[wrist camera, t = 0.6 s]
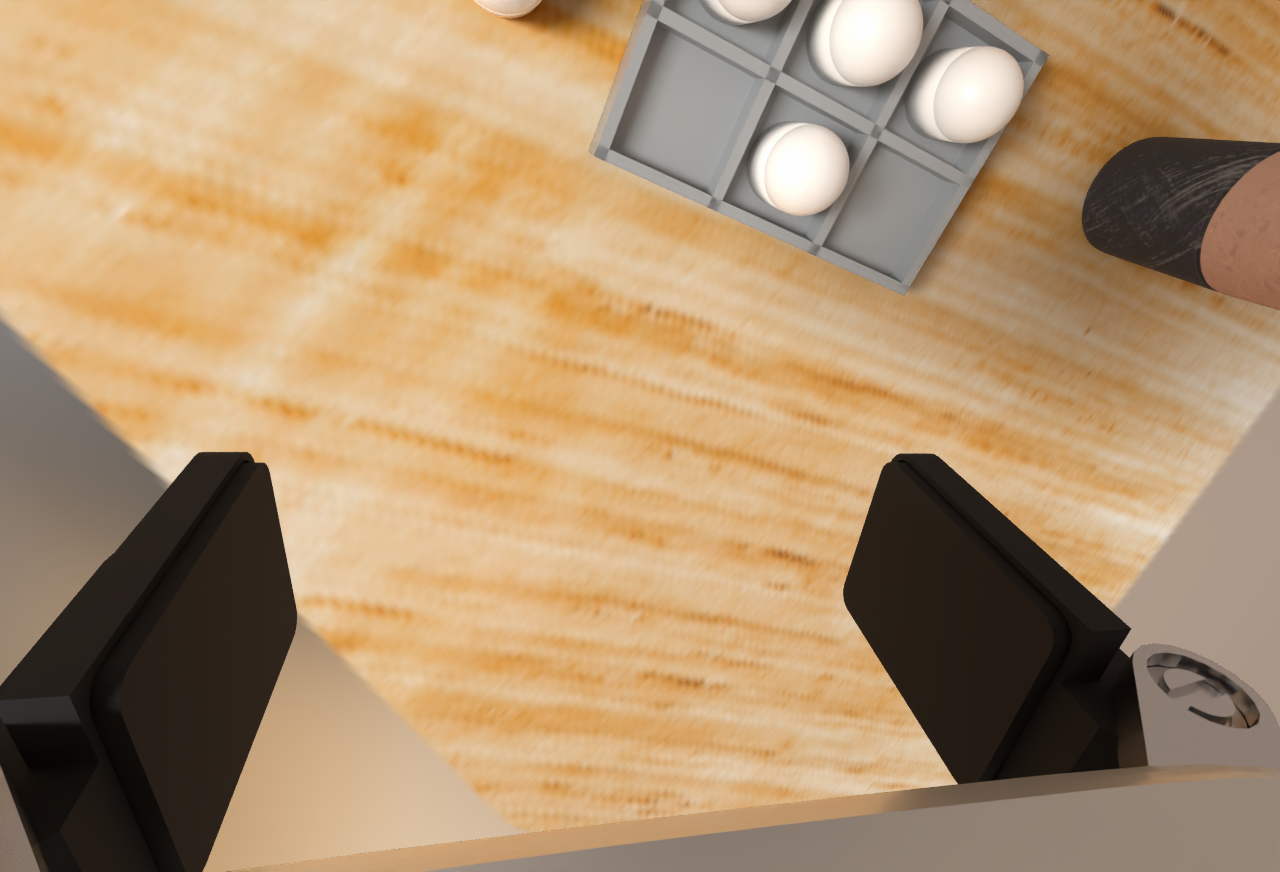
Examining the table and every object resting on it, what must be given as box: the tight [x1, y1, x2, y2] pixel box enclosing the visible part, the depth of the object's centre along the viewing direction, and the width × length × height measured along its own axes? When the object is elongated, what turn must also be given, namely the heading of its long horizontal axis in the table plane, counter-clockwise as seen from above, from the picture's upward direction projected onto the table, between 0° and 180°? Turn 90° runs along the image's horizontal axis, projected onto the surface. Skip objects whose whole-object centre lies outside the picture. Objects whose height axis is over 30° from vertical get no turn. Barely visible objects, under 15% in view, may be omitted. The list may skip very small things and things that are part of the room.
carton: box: [589, 0, 1049, 295], centre depth 33 cm, size 20×14×6 cm
